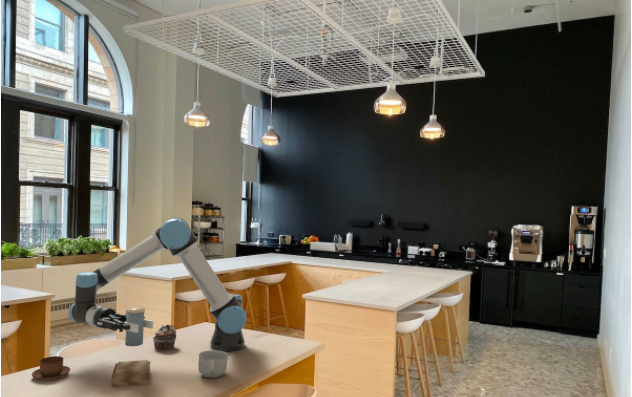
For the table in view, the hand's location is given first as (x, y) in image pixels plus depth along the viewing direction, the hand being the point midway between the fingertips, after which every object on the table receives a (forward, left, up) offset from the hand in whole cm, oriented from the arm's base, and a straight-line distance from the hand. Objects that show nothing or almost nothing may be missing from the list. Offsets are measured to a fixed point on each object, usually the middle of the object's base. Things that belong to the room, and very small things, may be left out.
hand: (145, 326), depth 164 cm
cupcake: (-7, -37, -20) cm, 43 cm away
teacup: (-24, +1, -20) cm, 31 cm away
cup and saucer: (+32, -12, -20) cm, 39 cm away
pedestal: (+4, -3, -19) cm, 20 cm away
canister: (+4, -4, -7) cm, 9 cm away
